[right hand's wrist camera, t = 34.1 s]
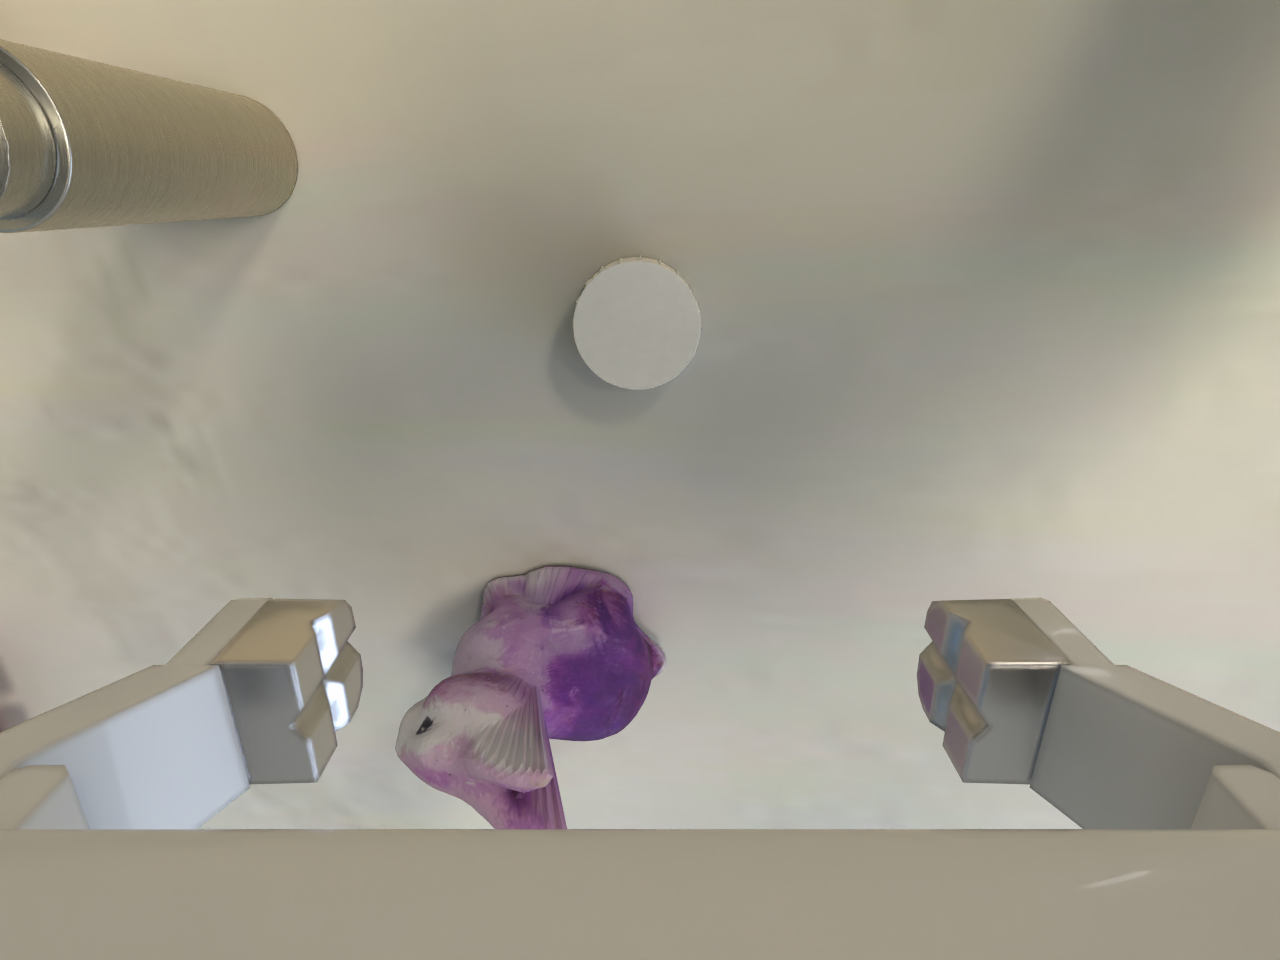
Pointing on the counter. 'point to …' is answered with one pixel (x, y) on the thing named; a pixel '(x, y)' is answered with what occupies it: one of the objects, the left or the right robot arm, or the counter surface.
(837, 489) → the counter surface
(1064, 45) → the counter surface
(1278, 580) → the counter surface
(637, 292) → the lid
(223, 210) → the jar
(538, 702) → the figurine
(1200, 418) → the counter surface
